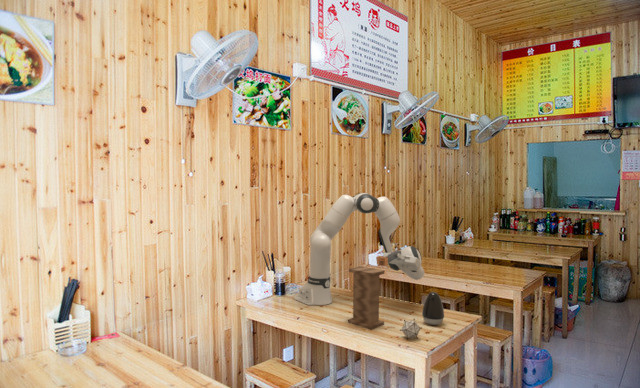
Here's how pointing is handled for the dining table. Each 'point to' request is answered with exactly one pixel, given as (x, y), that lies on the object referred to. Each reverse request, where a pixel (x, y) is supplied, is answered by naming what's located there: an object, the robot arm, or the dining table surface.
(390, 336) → the dining table surface
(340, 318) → the dining table surface
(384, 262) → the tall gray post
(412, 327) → the game die
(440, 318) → the pump dispenser
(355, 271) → the walnut stand
